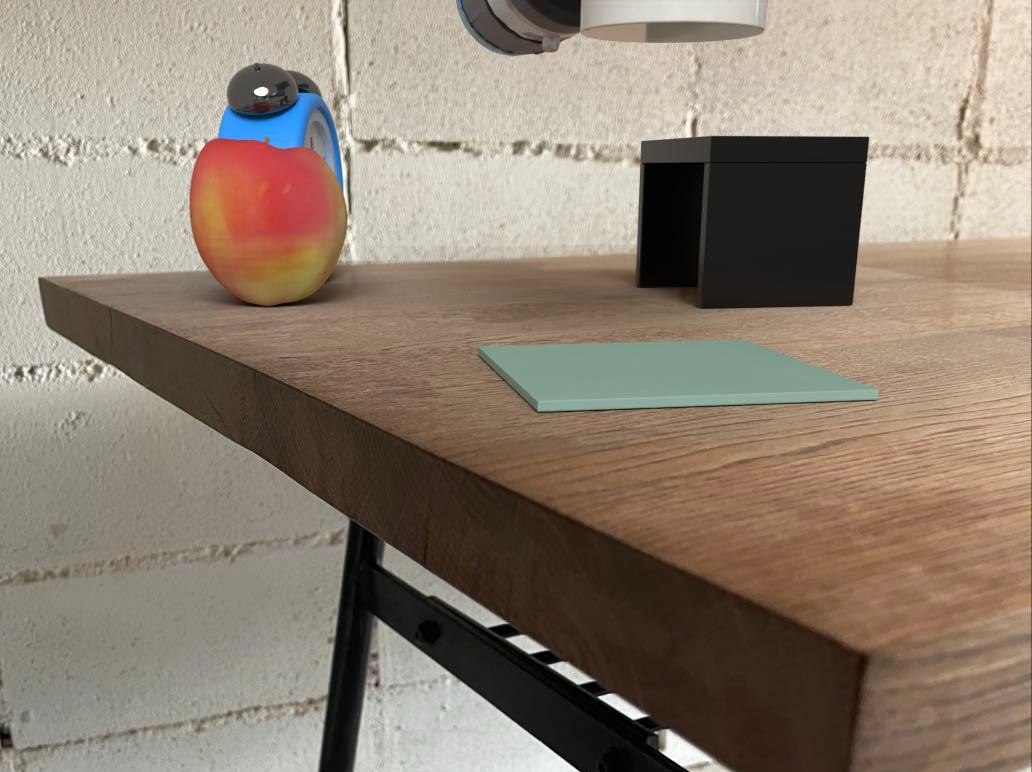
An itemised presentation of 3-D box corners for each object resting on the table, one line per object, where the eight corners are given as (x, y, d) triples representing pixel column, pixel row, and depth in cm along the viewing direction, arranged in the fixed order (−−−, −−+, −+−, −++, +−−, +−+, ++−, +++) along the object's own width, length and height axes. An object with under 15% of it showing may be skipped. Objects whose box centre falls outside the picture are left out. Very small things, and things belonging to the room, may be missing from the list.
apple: (275, 316, 65) (264, 133, 62) (162, 306, 70) (146, 135, 67) (379, 301, 73) (374, 136, 70) (270, 292, 78) (261, 138, 75)
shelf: (764, 283, 84) (774, 141, 81) (853, 305, 71) (869, 136, 68) (634, 285, 82) (640, 140, 79) (701, 308, 69) (711, 135, 66)
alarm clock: (304, 291, 78) (292, 57, 73) (218, 290, 79) (201, 58, 74) (348, 274, 90) (340, 73, 86) (273, 273, 91) (261, 74, 86)
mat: (744, 347, 54) (745, 339, 54) (878, 400, 42) (879, 389, 42) (477, 354, 52) (477, 346, 52) (537, 412, 40) (537, 401, 40)
